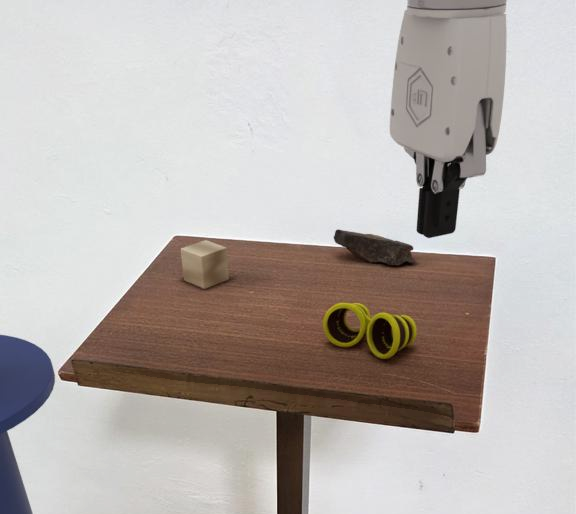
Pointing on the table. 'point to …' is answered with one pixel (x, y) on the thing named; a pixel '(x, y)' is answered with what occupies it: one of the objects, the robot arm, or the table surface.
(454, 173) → the robot arm
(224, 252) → the pale wood block
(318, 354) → the table surface
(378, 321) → the opera glasses
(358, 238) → the rock
